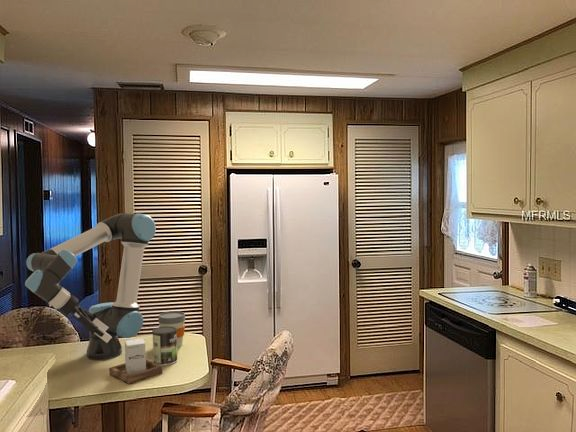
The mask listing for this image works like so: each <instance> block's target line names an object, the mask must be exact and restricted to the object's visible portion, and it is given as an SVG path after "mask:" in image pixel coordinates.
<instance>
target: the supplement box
mask: <svg viewBox="0 0 576 432" xmlns="http://www.w3.org/2000/svg"><path fill="white" fill-rule="evenodd" d="M124 363H125V366H126V373H127V374H128V375H133V374H136V373H139V372H142V371H145V370H146V342H145V340H144V338H136V339H128V340H124Z"/></svg>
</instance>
